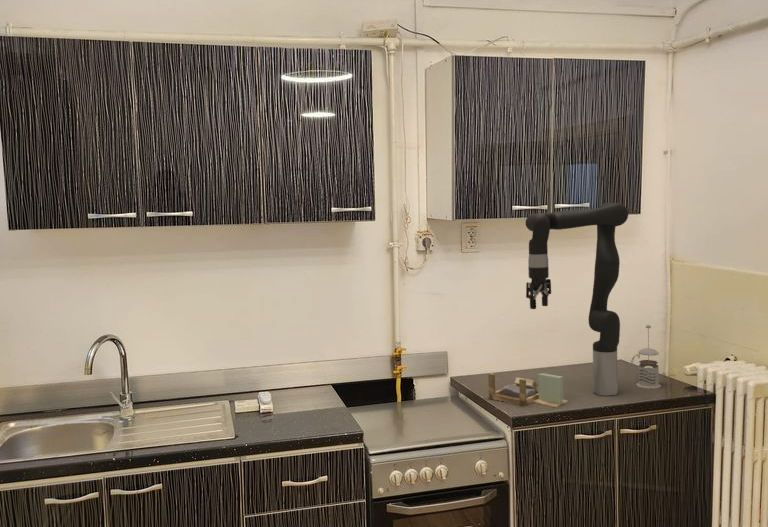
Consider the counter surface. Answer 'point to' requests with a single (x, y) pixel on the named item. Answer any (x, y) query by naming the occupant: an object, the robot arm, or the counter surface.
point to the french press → (643, 379)
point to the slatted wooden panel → (549, 403)
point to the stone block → (516, 391)
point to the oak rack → (520, 401)
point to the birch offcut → (528, 384)
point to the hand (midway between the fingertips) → (539, 307)
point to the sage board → (550, 388)
